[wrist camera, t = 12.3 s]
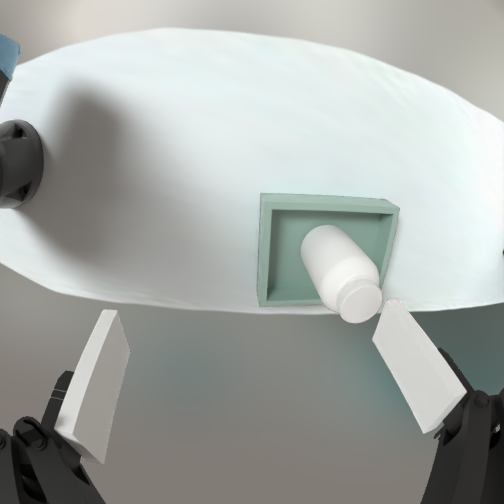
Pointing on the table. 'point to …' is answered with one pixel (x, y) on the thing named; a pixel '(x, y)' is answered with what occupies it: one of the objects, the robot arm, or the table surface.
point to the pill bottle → (341, 273)
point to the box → (300, 224)
